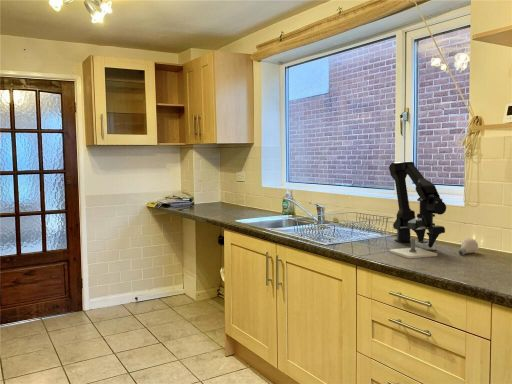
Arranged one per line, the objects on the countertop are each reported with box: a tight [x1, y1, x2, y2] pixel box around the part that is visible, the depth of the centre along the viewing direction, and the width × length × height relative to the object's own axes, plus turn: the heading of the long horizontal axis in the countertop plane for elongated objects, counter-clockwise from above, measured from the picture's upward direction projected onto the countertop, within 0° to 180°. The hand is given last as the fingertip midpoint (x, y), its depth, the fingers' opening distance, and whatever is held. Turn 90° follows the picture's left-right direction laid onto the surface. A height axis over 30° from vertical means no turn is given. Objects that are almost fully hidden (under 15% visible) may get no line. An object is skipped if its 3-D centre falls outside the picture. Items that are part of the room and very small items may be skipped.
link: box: [415, 239, 437, 251], centre depth 210 cm, size 6×6×3 cm
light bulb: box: [457, 237, 479, 256], centre depth 199 cm, size 7×7×11 cm
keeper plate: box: [388, 238, 438, 259], centre depth 199 cm, size 14×14×6 cm
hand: (425, 245), depth 210 cm, fingers closed on link, 6 cm apart
